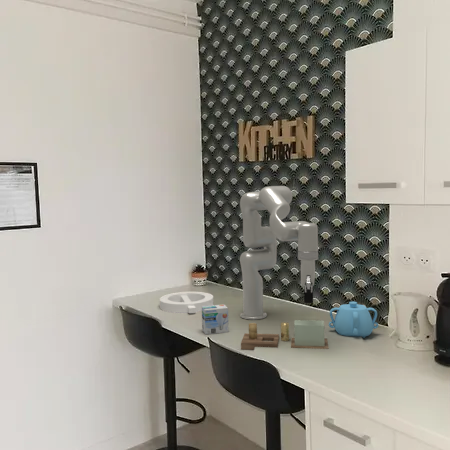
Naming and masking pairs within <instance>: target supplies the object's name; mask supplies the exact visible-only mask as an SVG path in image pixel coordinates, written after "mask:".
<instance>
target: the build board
mask: <svg viewBox="0 0 450 450" xmlns="http://www.w3.org/2000/svg"><path fill="white" fill-rule="evenodd" d="M279 340H280V334H278V333H258V324H257V323H256V322H250V323H248V332H247V333H245V332H244V334H243V336H242V339H241V342H240V350H243V351H244V350H248V351H251V350H252V351H254V350H255V348H277V349H278V346H279Z"/></svg>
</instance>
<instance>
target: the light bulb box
mask: <svg viewBox="0 0 450 450" xmlns="http://www.w3.org/2000/svg"><path fill="white" fill-rule="evenodd" d="M201 325H202V326H201V328H202V329H201V330H202V332H203V333H204V335H214V334H223V333H229V332H230V331H229V329H230V327H229V307H227V305H226V304H214V305H212V306H202V311H201Z"/></svg>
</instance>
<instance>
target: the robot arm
mask: <svg viewBox="0 0 450 450" xmlns="http://www.w3.org/2000/svg"><path fill="white" fill-rule="evenodd" d="M292 200H293V193H292V190H291V188H290V187H288V186H285V185H271V186H265V187H263V188H261V189H260V191H250V192H249V191H248V192H245V193H244V194H243V195H241V197H240V200H239V207H240V211H241V215H242V240H243V245H244V246H245V247H246V248H250V249H251V248H252V249H251V250H246V251H244V252H242V253H241V255H240V256H239V262H240V263H239V264H240V268H241V274H242V275H241V277H242V304H243V306H242V307H243V308H242V309H243V312H241V313H240V315H239V317H240V318H242V319H244V320H250V321H251V320H254V321H255V320H262V319H265V318H266V317H267V316H268V314H267V312H265V311H264V285H263V283H264V281H263V277H262V276H261V274H260V273H259V271H261V270H270V269H273V268H274V267H276V264H277V258H278V257H277V247H278V246H277V244H278V243H277V240H279V241H281V242H294V241H296V242H297V259H298V260H299V261H300V286H301V287H303V286H304V287H303V288H304V289H303V290H304V292H303V293H304V295H303V297H304V303H305V304H313V303H314V289H313V287H314V286H315V278H316V261H317V260H319V232H318V231H319V230H318V229H319V228H318V225H317V223H313V222H308V221H304V220H300V221H299V220H298V221H284V222H283V221H282V220H284V219H286V217H287V216H288V215H289V213H290V211H291V206H290V204H291V202H292ZM259 211H268V213H269V215H270V216H269V219H268V220H269V226H262V216H261V214H260V213H259ZM254 248H263V249H254Z"/></svg>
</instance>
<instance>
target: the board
mask: <svg viewBox="0 0 450 450" xmlns="http://www.w3.org/2000/svg"><path fill="white" fill-rule="evenodd" d="M324 339H325V346H295V337H291V339H290V349H315V350H316V349H318V350H319V349H320V350H321V349H322V350H328V349H330V348H329V342H328V338H325V337H324Z"/></svg>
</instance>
